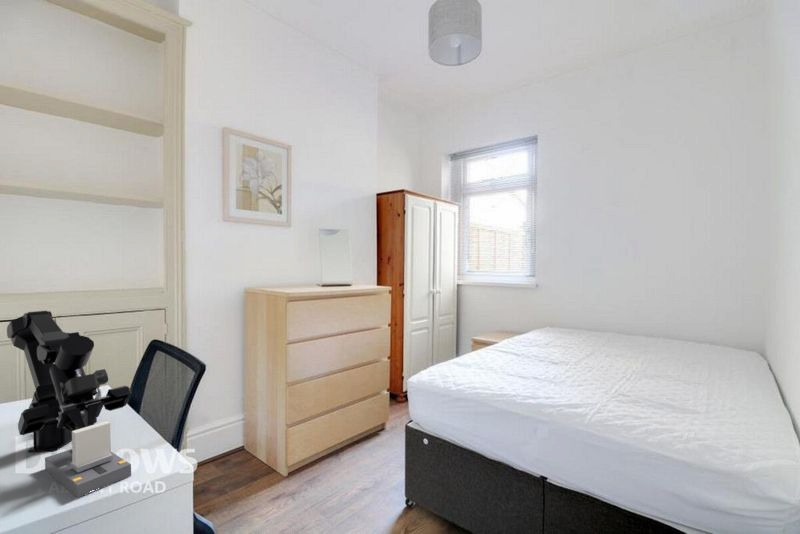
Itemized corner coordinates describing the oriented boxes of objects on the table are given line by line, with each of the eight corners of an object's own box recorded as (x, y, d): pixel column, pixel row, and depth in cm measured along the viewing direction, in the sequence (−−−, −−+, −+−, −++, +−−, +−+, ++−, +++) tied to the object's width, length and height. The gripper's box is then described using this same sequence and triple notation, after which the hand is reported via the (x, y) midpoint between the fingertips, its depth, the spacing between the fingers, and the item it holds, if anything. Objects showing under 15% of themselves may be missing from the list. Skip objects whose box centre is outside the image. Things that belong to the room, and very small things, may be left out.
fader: (70, 467, 78) (70, 430, 78) (105, 454, 83) (104, 419, 83) (77, 472, 76) (77, 434, 76) (112, 459, 81) (112, 423, 81)
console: (45, 468, 83) (44, 457, 83) (95, 451, 90) (94, 440, 90) (77, 498, 72) (77, 484, 72) (131, 475, 79) (131, 463, 79)
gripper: (20, 370, 75) (38, 438, 69) (127, 352, 91) (149, 405, 85) (11, 402, 79) (26, 468, 73) (114, 379, 95) (134, 432, 89)
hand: (89, 441), depth 80 cm, fingers closed, pressing on fader
